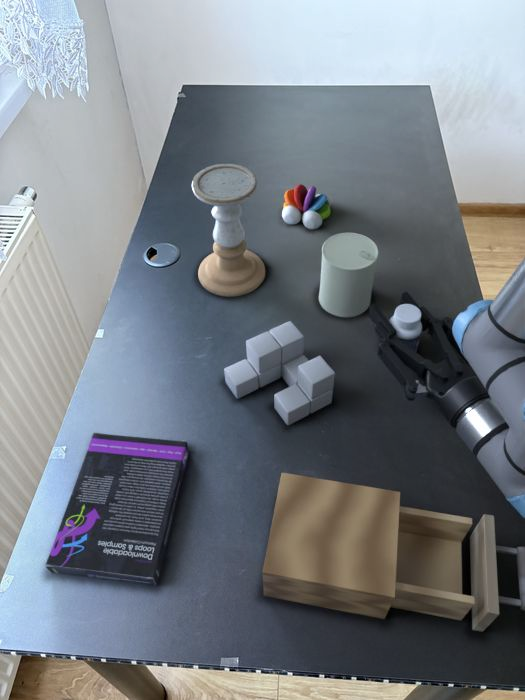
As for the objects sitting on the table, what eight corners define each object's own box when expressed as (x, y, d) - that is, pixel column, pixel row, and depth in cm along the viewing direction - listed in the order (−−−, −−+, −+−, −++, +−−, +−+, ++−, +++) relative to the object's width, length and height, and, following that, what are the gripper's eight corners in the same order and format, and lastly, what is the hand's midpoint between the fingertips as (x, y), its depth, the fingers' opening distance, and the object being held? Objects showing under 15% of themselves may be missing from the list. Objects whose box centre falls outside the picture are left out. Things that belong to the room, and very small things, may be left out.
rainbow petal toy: (291, 200, 124) (291, 169, 118) (335, 210, 121) (338, 180, 116) (276, 224, 119) (276, 193, 113) (322, 235, 116) (324, 205, 111)
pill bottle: (419, 362, 96) (429, 324, 89) (386, 364, 96) (395, 327, 89) (411, 337, 99) (421, 299, 92) (380, 339, 99) (387, 301, 92)
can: (357, 326, 101) (365, 274, 92) (309, 308, 104) (311, 255, 95) (378, 293, 106) (388, 240, 97) (331, 276, 109) (336, 223, 100)
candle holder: (279, 277, 109) (279, 183, 94) (225, 309, 104) (215, 215, 89) (238, 244, 115) (232, 150, 100) (185, 272, 111) (170, 178, 95)
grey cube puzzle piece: (225, 383, 94) (221, 351, 88) (289, 352, 98) (290, 320, 92) (264, 439, 87) (263, 409, 81) (331, 404, 91) (335, 372, 85)
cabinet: (390, 521, 79) (400, 491, 72) (384, 620, 71) (395, 597, 64) (281, 502, 81) (281, 472, 74) (263, 597, 73) (262, 572, 66)
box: (99, 443, 88) (50, 575, 75) (93, 430, 85) (41, 564, 73) (191, 453, 86) (157, 589, 74) (188, 440, 84) (152, 579, 71)
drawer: (517, 544, 76) (535, 522, 70) (525, 640, 68) (545, 623, 63) (373, 519, 78) (379, 496, 73) (365, 609, 71) (372, 590, 66)
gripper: (415, 451, 83) (335, 337, 97) (522, 405, 87) (431, 302, 101) (425, 422, 77) (339, 305, 91) (539, 374, 81) (440, 269, 95)
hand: (387, 304), depth 96 cm, fingers closed on pill bottle, 5 cm apart
